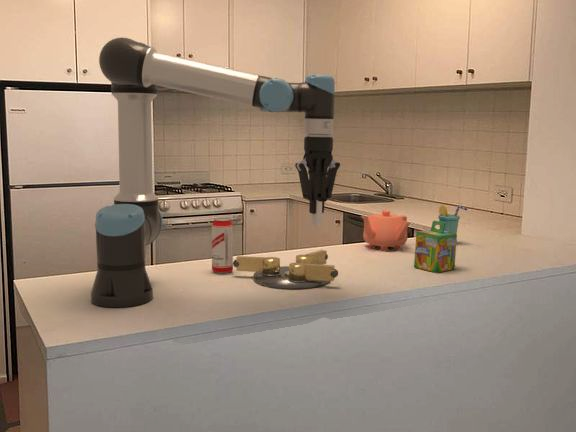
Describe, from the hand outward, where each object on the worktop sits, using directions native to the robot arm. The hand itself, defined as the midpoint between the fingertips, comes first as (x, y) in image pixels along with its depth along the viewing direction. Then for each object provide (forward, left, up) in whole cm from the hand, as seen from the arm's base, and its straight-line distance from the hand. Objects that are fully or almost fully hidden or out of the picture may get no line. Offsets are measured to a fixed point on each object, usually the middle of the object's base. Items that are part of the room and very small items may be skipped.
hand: (316, 225), depth 169 cm
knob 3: (+2, +4, -16) cm, 17 cm away
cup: (+79, +28, -18) cm, 85 cm away
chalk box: (+46, +2, -18) cm, 50 cm away
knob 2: (+10, +16, -16) cm, 25 cm away
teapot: (+53, +34, -18) cm, 65 cm away
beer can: (-13, +30, -18) cm, 37 cm away
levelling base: (+1, +13, -18) cm, 22 cm away
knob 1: (-7, +20, -16) cm, 26 cm away
